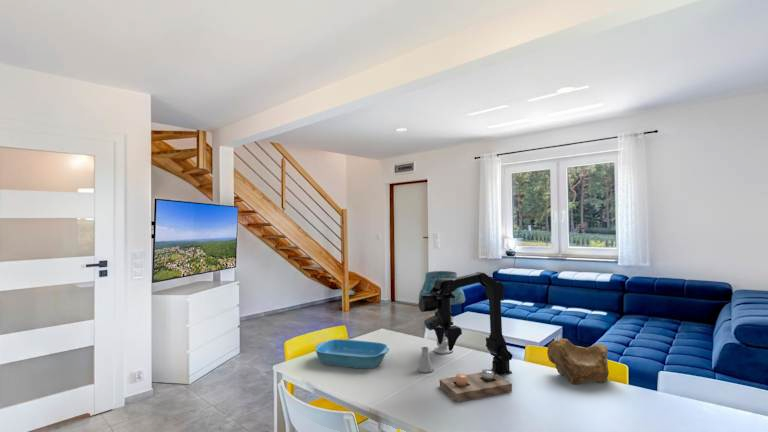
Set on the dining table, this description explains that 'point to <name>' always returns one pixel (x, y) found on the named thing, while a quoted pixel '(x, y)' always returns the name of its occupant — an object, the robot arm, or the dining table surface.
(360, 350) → the casserole dish
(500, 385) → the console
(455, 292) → the table lamp
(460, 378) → the peach rounded cylinder
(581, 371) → the rough brown rock
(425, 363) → the flask
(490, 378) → the steel plunger
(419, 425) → the dining table surface
